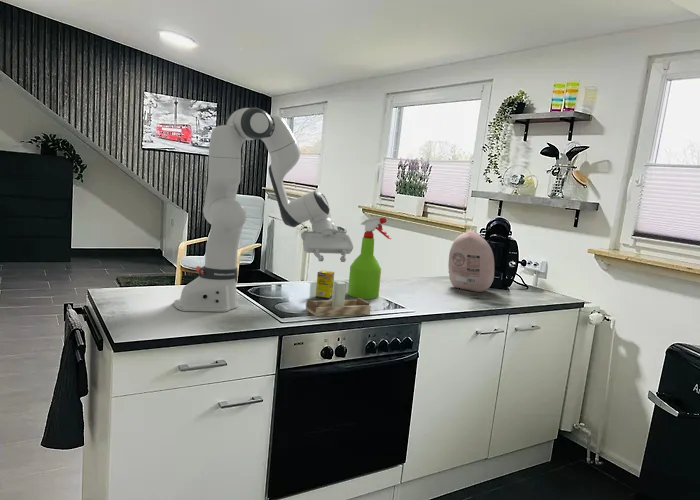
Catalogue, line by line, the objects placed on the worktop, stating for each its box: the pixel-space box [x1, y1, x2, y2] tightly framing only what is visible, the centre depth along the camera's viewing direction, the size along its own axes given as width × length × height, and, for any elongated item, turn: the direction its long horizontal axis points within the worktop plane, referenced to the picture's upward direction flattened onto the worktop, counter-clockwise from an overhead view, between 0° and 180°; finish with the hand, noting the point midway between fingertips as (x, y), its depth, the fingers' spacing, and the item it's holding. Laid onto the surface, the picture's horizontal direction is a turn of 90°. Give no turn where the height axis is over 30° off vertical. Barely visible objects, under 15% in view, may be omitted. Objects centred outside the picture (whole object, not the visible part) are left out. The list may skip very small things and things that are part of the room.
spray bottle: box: [347, 216, 393, 300], centre depth 225 cm, size 14×18×35 cm
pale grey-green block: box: [332, 280, 347, 307], centre depth 194 cm, size 3×4×10 cm
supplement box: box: [315, 269, 335, 300], centre depth 216 cm, size 6×6×11 cm
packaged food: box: [447, 231, 496, 293], centre depth 261 cm, size 22×20×30 cm
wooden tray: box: [305, 298, 371, 317], centre depth 194 cm, size 22×10×4 cm, turn 118°
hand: (332, 260), depth 199 cm, fingers open, 8 cm apart
